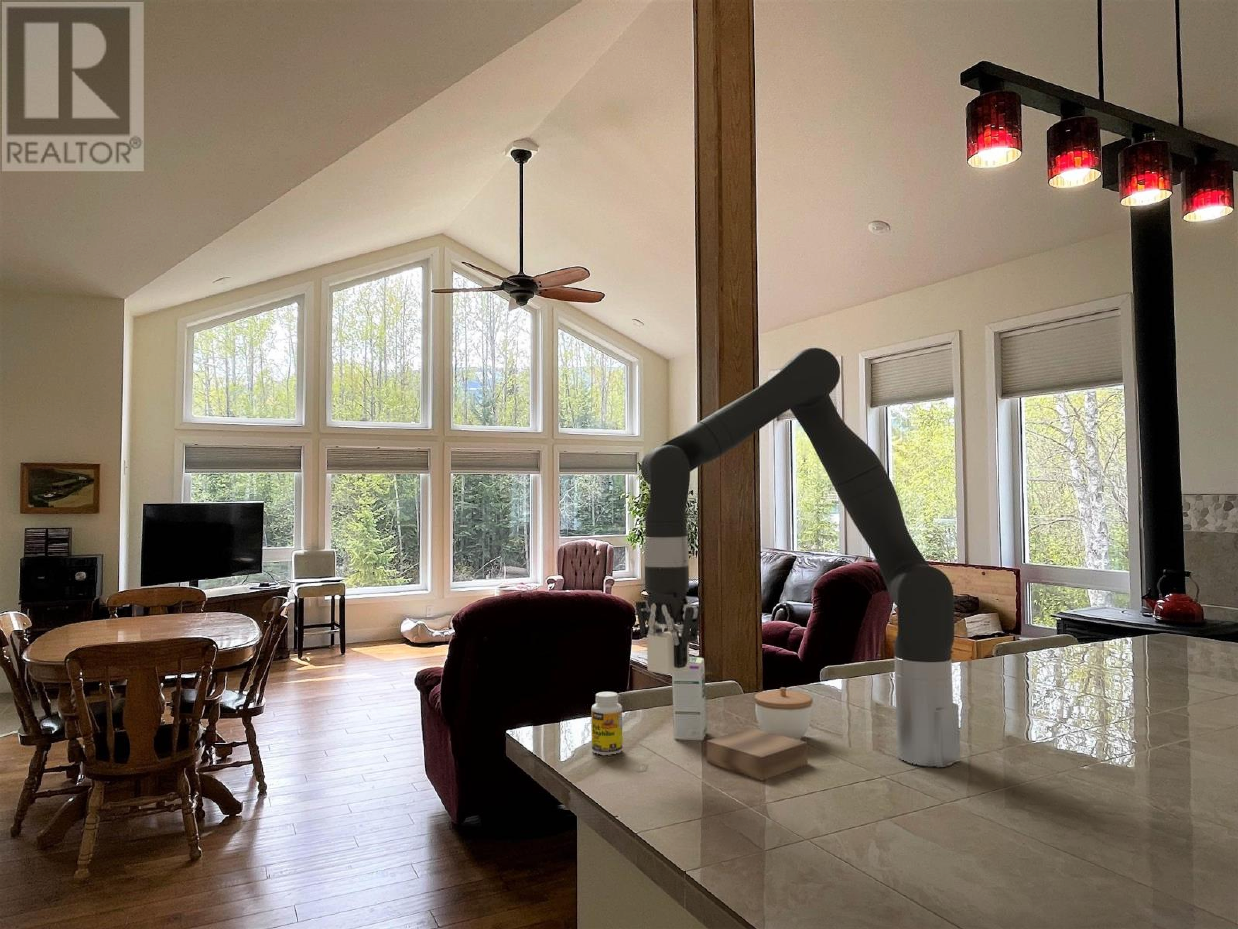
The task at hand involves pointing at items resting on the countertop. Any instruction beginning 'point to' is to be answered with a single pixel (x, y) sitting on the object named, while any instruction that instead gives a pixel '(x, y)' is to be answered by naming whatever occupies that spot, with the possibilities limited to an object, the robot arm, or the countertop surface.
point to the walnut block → (757, 753)
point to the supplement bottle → (606, 724)
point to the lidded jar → (784, 712)
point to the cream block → (663, 654)
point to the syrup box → (690, 702)
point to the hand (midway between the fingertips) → (668, 664)
